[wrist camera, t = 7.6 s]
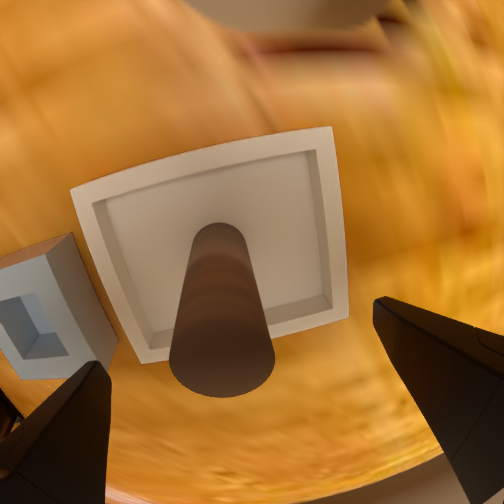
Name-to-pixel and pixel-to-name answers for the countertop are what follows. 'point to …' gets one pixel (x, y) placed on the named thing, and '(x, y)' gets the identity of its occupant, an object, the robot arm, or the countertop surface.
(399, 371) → the robot arm
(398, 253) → the countertop surface
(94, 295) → the grey square peg base
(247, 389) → the dowel
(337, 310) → the tray
